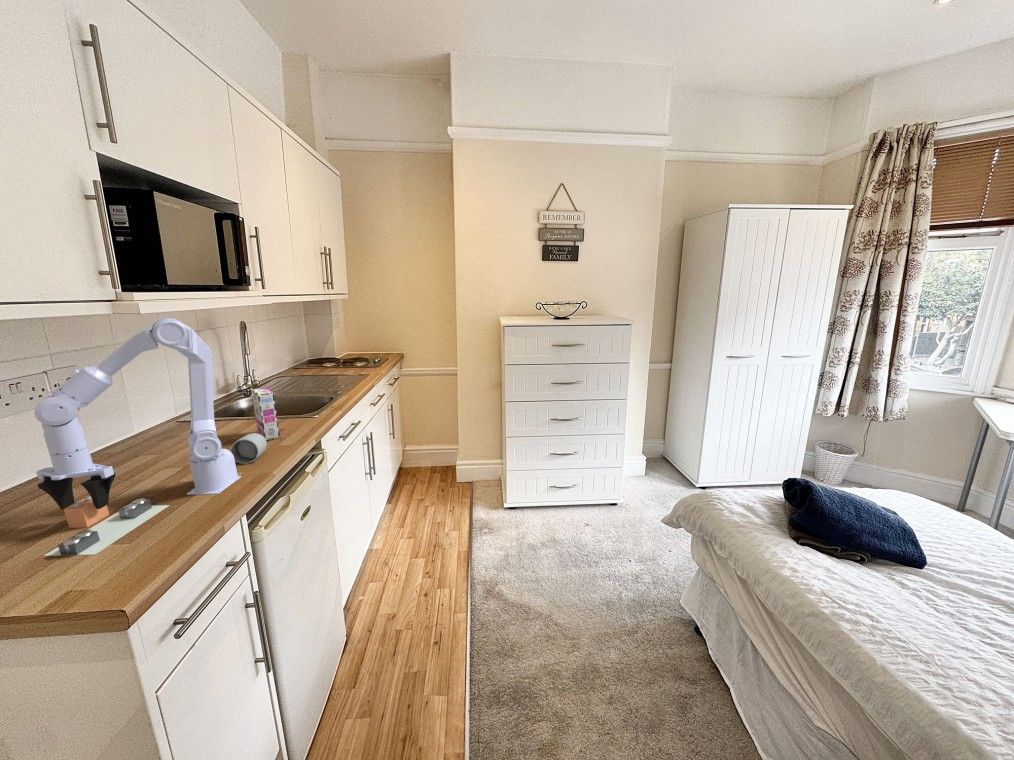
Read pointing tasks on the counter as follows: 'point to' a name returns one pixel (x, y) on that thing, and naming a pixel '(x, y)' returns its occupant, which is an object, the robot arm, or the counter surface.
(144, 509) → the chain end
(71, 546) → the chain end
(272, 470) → the counter surface
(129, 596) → the counter surface
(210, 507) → the counter surface
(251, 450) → the ceramic mug
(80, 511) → the orange block with knobs
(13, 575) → the counter surface
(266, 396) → the candy bar box
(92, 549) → the mat
